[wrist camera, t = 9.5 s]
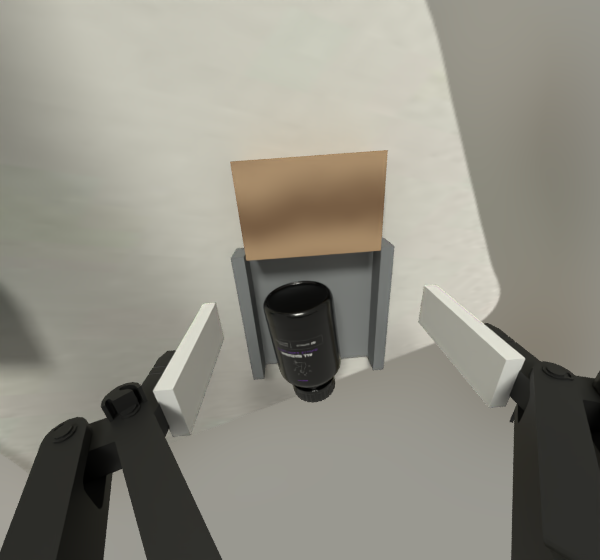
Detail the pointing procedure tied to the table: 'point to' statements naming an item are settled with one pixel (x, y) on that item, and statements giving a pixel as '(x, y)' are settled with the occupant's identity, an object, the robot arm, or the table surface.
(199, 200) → the table surface
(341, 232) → the walnut ledge
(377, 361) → the grey tray
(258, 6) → the table surface
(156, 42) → the table surface
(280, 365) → the supplement bottle
